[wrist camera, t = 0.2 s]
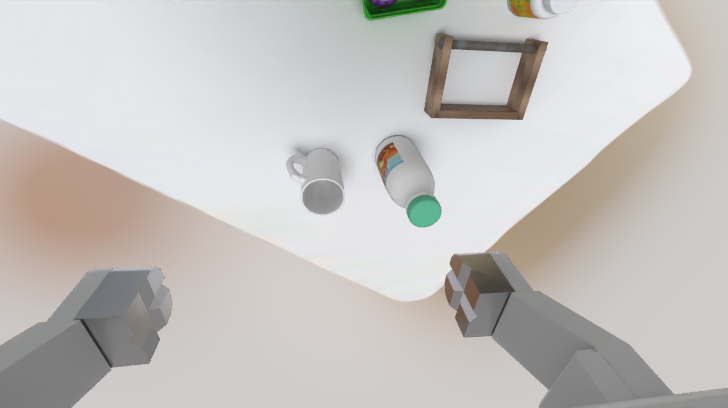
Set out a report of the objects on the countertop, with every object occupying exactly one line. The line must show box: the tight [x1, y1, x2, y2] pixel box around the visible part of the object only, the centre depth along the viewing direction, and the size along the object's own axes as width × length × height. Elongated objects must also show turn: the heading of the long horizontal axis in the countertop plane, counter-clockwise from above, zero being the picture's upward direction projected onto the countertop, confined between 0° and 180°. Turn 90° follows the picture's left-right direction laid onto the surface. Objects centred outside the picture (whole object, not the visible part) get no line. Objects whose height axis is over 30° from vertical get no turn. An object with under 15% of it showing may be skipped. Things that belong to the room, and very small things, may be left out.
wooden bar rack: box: [424, 34, 548, 120], centre depth 53 cm, size 12×18×4 cm
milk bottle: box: [375, 136, 441, 227], centre depth 52 cm, size 8×8×20 cm
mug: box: [286, 148, 345, 216], centre depth 54 cm, size 10×7×12 cm, turn 52°
